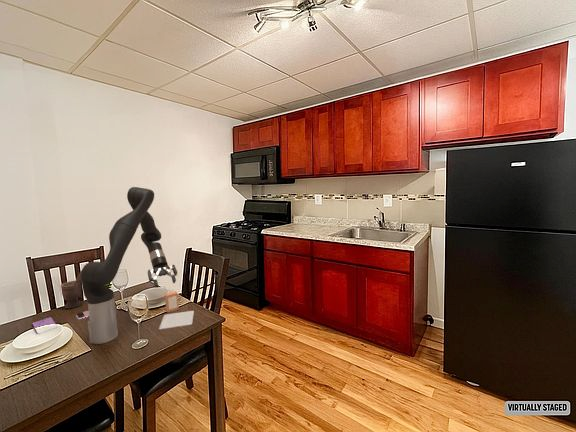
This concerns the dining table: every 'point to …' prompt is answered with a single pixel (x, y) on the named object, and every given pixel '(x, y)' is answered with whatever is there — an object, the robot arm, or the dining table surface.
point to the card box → (171, 301)
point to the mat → (177, 320)
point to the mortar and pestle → (72, 292)
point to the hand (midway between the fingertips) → (166, 284)
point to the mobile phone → (82, 314)
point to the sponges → (43, 322)
